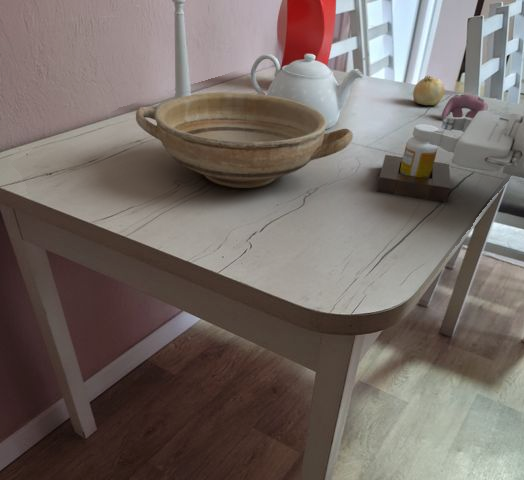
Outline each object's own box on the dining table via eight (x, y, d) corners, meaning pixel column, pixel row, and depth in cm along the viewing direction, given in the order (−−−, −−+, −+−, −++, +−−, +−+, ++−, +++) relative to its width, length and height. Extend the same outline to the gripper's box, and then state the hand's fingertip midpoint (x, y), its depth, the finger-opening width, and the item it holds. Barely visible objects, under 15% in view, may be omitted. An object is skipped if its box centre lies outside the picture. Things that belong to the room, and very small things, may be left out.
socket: (445, 177, 92) (449, 164, 90) (445, 202, 83) (450, 188, 81) (382, 167, 94) (385, 154, 92) (376, 191, 85) (379, 177, 83)
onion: (414, 98, 135) (420, 69, 130) (443, 103, 132) (451, 74, 128) (407, 105, 129) (414, 75, 124) (438, 110, 127) (446, 80, 122)
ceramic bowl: (347, 158, 96) (356, 103, 90) (339, 222, 75) (351, 156, 68) (167, 137, 100) (163, 83, 93) (110, 192, 79) (100, 127, 72)
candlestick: (212, 105, 120) (210, -54, 100) (209, 120, 110) (206, -51, 90) (160, 102, 119) (147, -58, 99) (152, 118, 109) (137, -56, 89)
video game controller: (480, 131, 120) (492, 101, 118) (479, 126, 116) (491, 95, 114) (441, 123, 124) (452, 93, 122) (438, 118, 120) (450, 87, 118)
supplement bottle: (429, 182, 89) (445, 126, 83) (424, 192, 86) (440, 134, 79) (400, 175, 91) (414, 120, 84) (394, 185, 87) (407, 128, 81)
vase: (270, 82, 140) (277, -43, 122) (318, 82, 143) (331, -40, 125) (285, 96, 129) (295, -38, 111) (335, 95, 133) (353, -35, 114)
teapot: (315, 107, 123) (322, 44, 114) (355, 129, 111) (367, 61, 102) (247, 112, 116) (249, 46, 107) (282, 137, 104) (288, 64, 95)
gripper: (508, 188, 72) (416, 167, 77) (522, 148, 86) (444, 132, 91) (525, 145, 68) (428, 125, 72) (537, 110, 82) (454, 95, 86)
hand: (437, 129), depth 82 cm, fingers open, 8 cm apart
